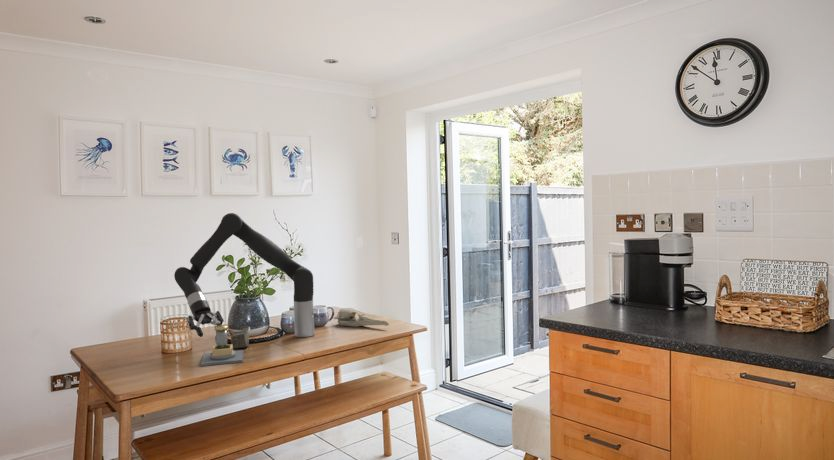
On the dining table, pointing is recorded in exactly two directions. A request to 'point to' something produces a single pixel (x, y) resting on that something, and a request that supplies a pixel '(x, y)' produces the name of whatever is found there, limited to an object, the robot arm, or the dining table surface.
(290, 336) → the dining table surface
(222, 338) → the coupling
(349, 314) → the bird skull
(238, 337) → the rock
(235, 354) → the grey tray with block
